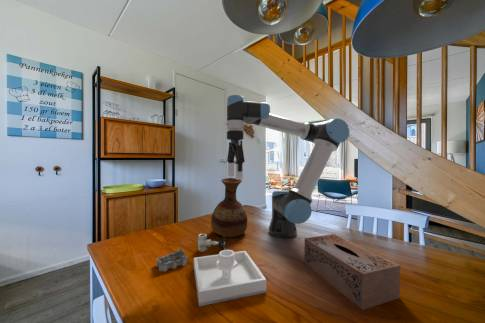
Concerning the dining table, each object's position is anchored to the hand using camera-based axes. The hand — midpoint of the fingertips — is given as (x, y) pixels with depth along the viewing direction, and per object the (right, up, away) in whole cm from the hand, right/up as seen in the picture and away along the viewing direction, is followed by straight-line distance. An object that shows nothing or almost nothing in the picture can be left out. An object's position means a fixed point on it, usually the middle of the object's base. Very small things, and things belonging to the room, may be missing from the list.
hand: (234, 177), depth 93 cm
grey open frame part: (-23, -32, -15) cm, 42 cm away
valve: (-10, -32, -2) cm, 34 cm away
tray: (-2, -32, -24) cm, 40 cm away
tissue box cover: (+39, -33, -23) cm, 56 cm away
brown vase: (-4, -32, +18) cm, 37 cm away
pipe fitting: (-2, -32, -24) cm, 40 cm away
